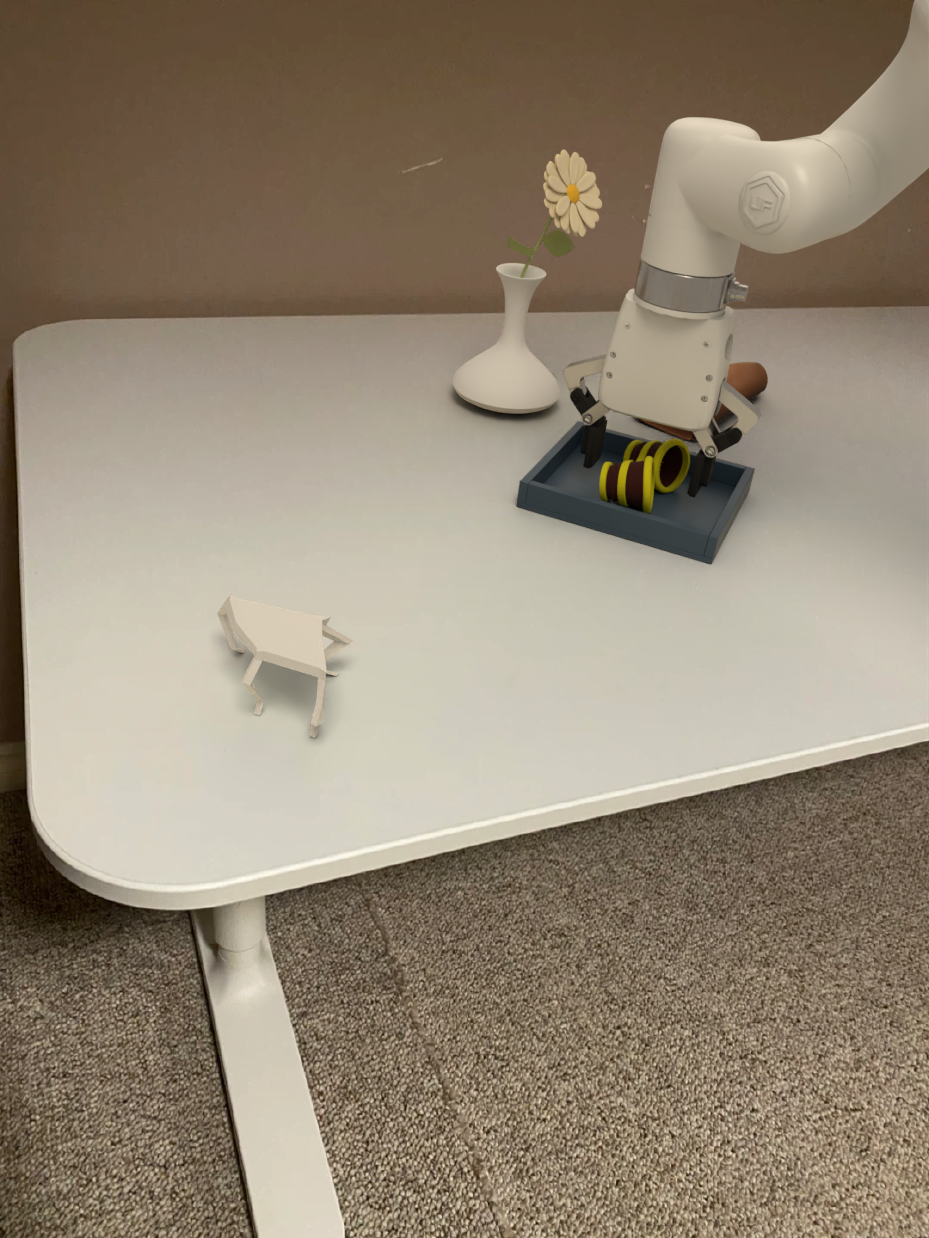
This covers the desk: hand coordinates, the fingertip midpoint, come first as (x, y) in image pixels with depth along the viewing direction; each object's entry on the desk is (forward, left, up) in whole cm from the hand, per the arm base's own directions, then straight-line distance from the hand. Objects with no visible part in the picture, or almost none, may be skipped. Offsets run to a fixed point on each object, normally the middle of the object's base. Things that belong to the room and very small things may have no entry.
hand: (642, 476), depth 97 cm
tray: (0, 0, -2) cm, 2 cm away
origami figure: (+13, +40, -2) cm, 42 cm away
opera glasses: (0, 0, -2) cm, 2 cm away
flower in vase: (+18, -14, -2) cm, 23 cm away
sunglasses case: (0, -25, -2) cm, 25 cm away
